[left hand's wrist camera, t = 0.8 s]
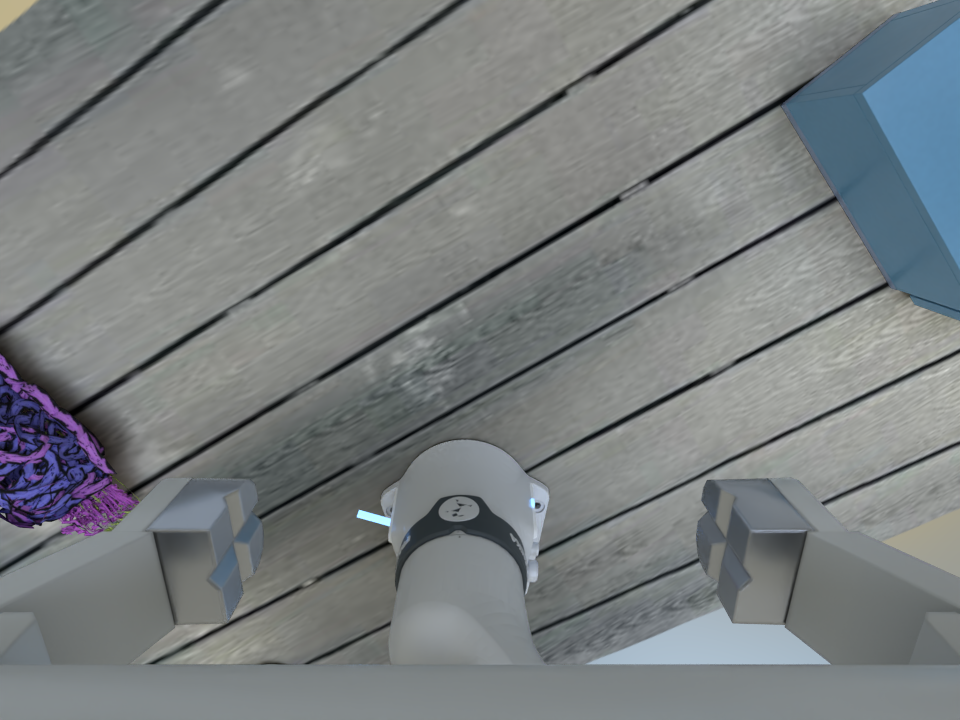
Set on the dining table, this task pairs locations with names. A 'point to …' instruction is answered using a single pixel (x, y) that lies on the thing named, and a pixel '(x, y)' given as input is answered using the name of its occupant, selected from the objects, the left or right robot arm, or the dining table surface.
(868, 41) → the blue open box
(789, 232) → the dining table surface
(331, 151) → the dining table surface
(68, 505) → the purple fibrous block
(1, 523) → the dining table surface
